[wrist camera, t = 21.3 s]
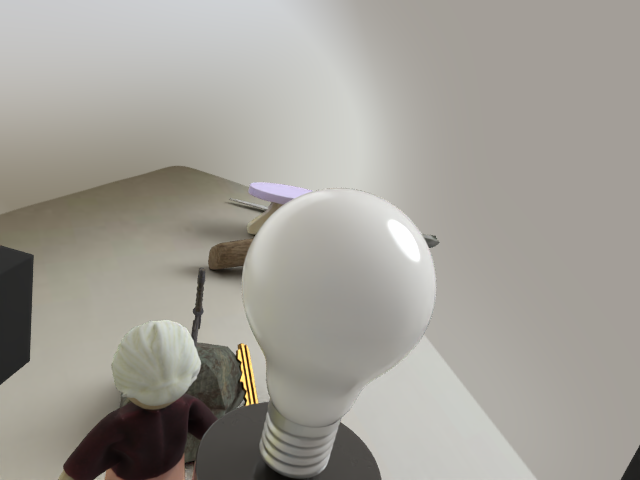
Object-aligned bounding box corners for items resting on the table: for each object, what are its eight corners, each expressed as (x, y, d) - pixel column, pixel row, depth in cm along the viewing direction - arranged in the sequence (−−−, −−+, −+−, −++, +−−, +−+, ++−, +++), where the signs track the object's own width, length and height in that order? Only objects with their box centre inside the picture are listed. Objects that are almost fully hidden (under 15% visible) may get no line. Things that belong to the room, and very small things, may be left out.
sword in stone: (145, 351, 40) (165, 197, 36) (252, 373, 41) (284, 224, 36) (88, 451, 31) (106, 259, 26) (228, 478, 31) (267, 293, 27)
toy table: (240, 241, 62) (248, 192, 60) (243, 218, 70) (250, 174, 68) (325, 255, 63) (336, 208, 62) (317, 231, 72) (327, 189, 70)
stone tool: (234, 255, 50) (458, 247, 67) (222, 215, 52) (443, 217, 69) (212, 285, 54) (429, 271, 71) (202, 247, 56) (415, 241, 73)
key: (259, 350, 38) (263, 347, 38) (280, 469, 33) (284, 466, 33) (215, 340, 35) (219, 337, 35) (232, 467, 31) (236, 465, 31)
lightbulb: (212, 400, 23) (259, 150, 19) (355, 415, 25) (427, 182, 21) (200, 532, 18) (263, 212, 14) (388, 542, 19) (497, 252, 15)
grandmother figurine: (171, 490, 30) (205, 285, 25) (218, 538, 28) (264, 324, 23) (25, 580, 24) (34, 333, 19) (71, 649, 22) (93, 392, 17)
